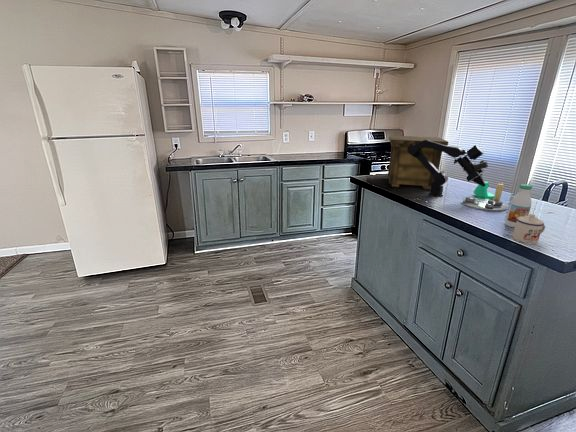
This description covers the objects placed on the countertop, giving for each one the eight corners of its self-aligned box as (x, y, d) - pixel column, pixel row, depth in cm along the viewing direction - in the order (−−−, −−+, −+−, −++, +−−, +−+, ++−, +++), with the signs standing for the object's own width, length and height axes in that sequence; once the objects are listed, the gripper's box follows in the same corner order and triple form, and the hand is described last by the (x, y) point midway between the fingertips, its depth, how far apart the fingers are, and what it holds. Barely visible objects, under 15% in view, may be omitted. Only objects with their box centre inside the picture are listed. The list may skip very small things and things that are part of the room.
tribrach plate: (482, 212, 163) (483, 206, 162) (453, 200, 183) (454, 195, 182) (516, 210, 167) (518, 204, 166) (485, 199, 187) (486, 194, 186)
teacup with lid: (523, 245, 123) (531, 218, 120) (506, 236, 132) (513, 210, 128) (550, 244, 125) (559, 217, 121) (531, 235, 133) (538, 210, 129)
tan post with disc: (499, 210, 161) (505, 190, 158) (484, 207, 165) (489, 188, 162) (503, 203, 173) (508, 184, 170) (489, 201, 177) (493, 182, 174)
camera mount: (496, 200, 185) (500, 184, 182) (484, 200, 185) (488, 184, 182) (484, 195, 197) (488, 179, 193) (472, 195, 197) (476, 179, 193)
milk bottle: (501, 223, 147) (511, 183, 140) (515, 223, 148) (527, 183, 141) (513, 229, 140) (525, 187, 133) (528, 228, 141) (541, 187, 134)
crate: (384, 177, 244) (389, 135, 233) (431, 180, 235) (438, 137, 224) (385, 187, 212) (391, 139, 202) (439, 191, 204) (448, 141, 193)
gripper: (477, 158, 167) (496, 180, 164) (482, 154, 180) (500, 175, 177) (458, 170, 174) (476, 192, 171) (465, 166, 188) (482, 186, 185)
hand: (484, 186), depth 176 cm, fingers closed
